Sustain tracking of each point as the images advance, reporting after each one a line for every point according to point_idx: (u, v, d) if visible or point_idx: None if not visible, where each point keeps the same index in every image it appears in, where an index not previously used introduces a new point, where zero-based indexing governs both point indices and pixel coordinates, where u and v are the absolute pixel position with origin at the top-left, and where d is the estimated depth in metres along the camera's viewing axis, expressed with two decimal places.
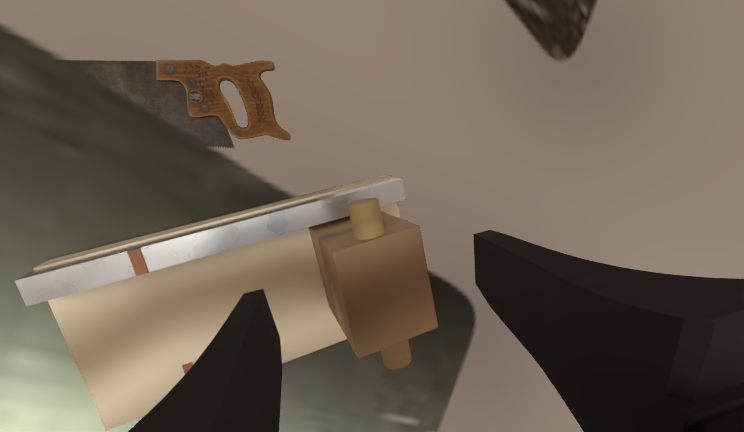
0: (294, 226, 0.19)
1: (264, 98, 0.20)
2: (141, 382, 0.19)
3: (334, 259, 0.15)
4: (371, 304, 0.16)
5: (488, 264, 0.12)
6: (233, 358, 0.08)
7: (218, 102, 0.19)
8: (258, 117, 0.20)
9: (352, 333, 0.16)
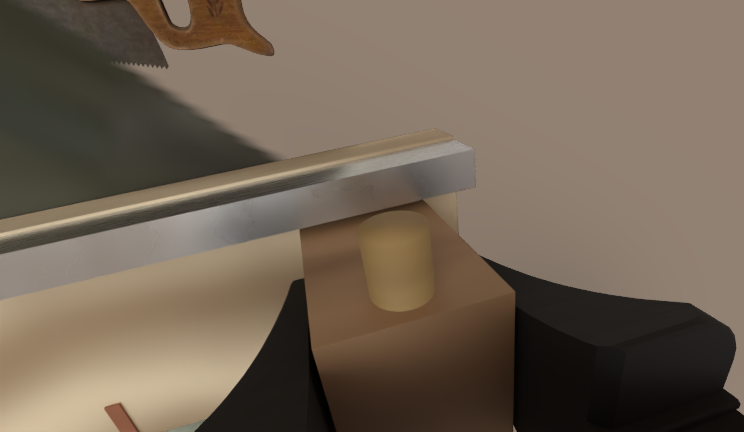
0: (265, 229, 0.10)
1: None
2: (45, 426, 0.13)
3: (317, 361, 0.07)
4: (391, 429, 0.08)
5: None
6: (303, 338, 0.08)
7: None
8: (208, 7, 0.10)
9: None
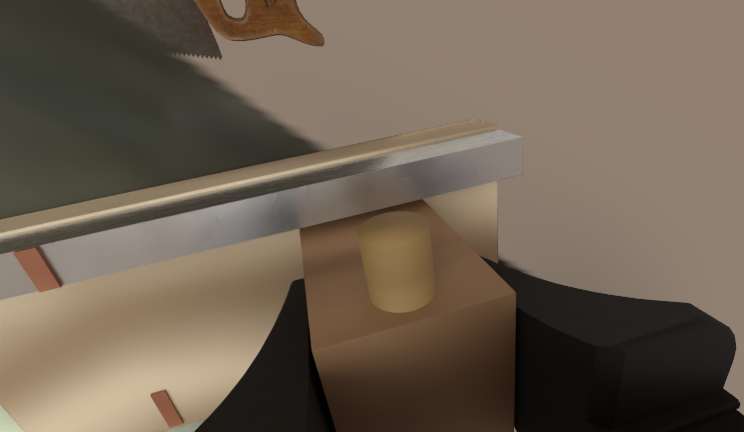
0: (320, 216, 0.10)
1: None
2: (93, 413, 0.13)
3: (317, 362, 0.07)
4: (392, 431, 0.08)
5: None
6: (303, 338, 0.08)
7: None
8: None
9: None
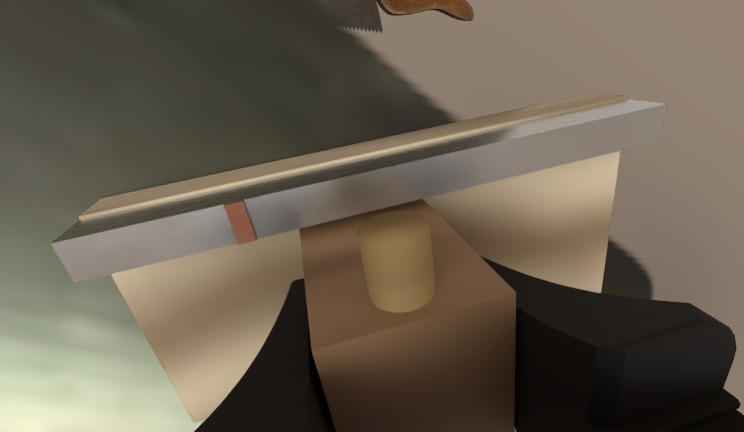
0: (483, 176, 0.11)
1: None
2: (237, 372, 0.14)
3: (317, 362, 0.07)
4: (392, 431, 0.08)
5: None
6: (303, 338, 0.08)
7: None
8: None
9: None
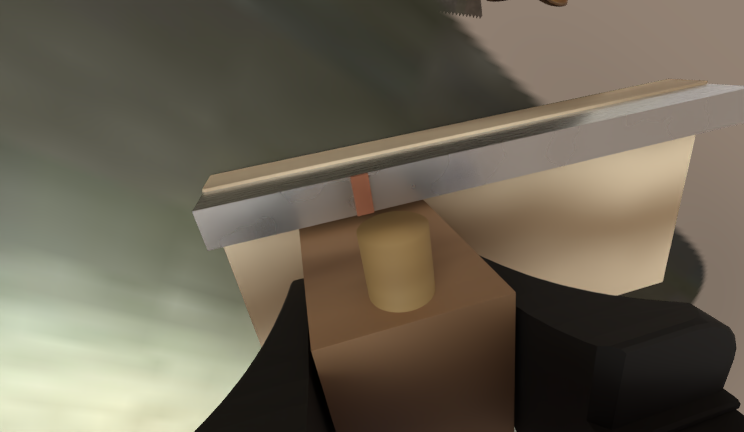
0: (582, 154, 0.12)
1: None
2: None
3: (316, 362, 0.07)
4: (391, 431, 0.08)
5: None
6: (303, 338, 0.08)
7: None
8: None
9: None
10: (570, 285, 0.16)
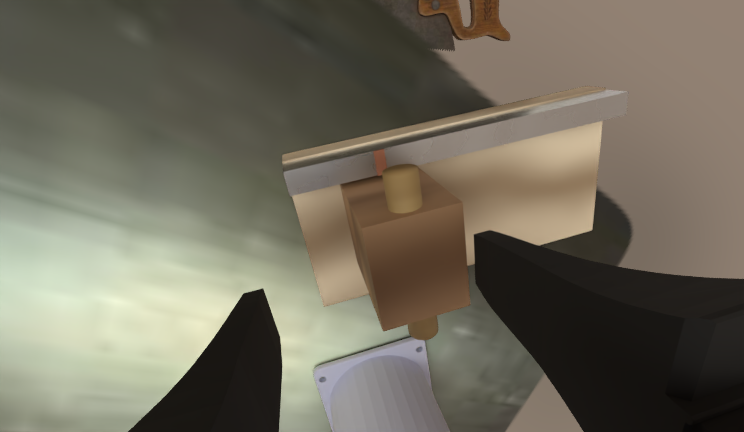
0: (517, 136, 0.18)
1: None
2: (354, 270, 0.21)
3: (363, 235, 0.14)
4: (401, 281, 0.15)
5: (488, 264, 0.12)
6: (233, 358, 0.08)
7: None
8: (484, 14, 0.19)
9: (378, 307, 0.15)
10: (523, 231, 0.23)
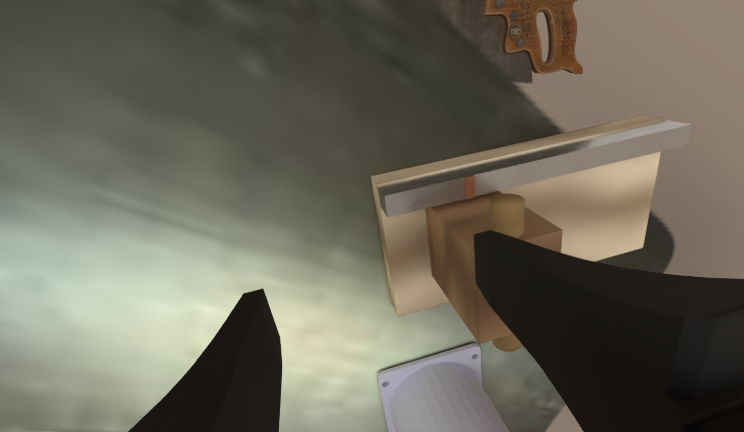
0: (590, 164, 0.20)
1: (572, 30, 0.20)
2: (428, 283, 0.23)
3: None
4: None
5: (488, 264, 0.12)
6: (233, 358, 0.08)
7: (532, 36, 0.19)
8: (562, 51, 0.20)
9: (478, 322, 0.17)
10: (581, 248, 0.24)
